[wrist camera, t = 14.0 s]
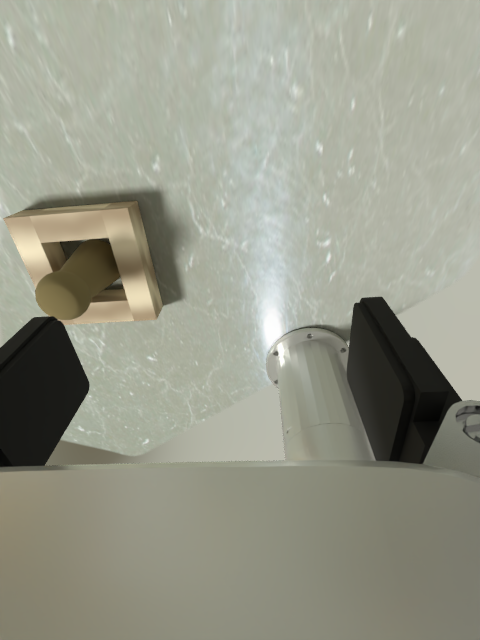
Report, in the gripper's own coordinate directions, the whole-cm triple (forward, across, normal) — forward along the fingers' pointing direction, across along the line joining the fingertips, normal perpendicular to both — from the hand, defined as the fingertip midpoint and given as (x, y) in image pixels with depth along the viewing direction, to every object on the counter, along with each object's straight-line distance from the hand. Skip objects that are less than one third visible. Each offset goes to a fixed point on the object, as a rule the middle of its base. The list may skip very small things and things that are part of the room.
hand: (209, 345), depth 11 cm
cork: (+31, +19, +8) cm, 37 cm away
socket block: (+30, +19, +8) cm, 37 cm away
